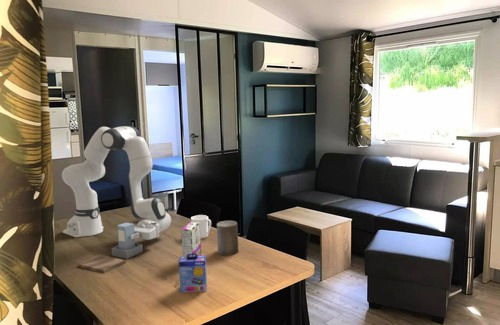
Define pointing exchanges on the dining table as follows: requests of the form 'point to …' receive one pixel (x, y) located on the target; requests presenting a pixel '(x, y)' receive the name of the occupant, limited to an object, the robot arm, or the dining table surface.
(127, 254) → the gray bin
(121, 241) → the slate box
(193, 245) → the candy bar box
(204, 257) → the ink cartridge box
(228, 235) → the pillar candle
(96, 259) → the walnut board
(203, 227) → the mug
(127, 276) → the dining table surface
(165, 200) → the milk frother
